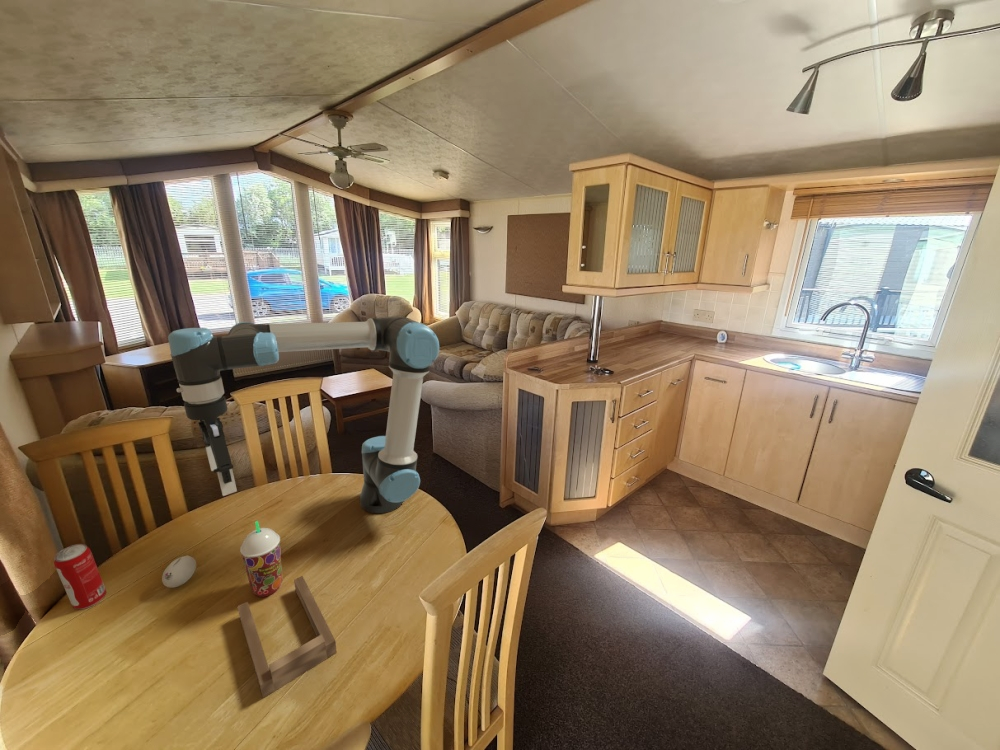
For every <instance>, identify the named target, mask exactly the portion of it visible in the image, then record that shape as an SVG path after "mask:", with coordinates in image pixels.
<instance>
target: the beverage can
mask: <svg viewBox="0 0 1000 750" xmlns="http://www.w3.org/2000/svg"><path fill="white" fill-rule="evenodd" d="M96 563H97V562H96V561H95V558H94V555H93V553H92V551H91V549H90V547H89V546H87V545H86V543H85V544H84V543H77V544H73V545H70V546H67V547H65V548H63V549H62V550H60V551H58V552H57V553H56V554H55V555H54V562H53V564H54V567H55V570H56V572H57V573H58V574H57V575H58V577H59V579H60V581H61V583H62V585H63V588H64V589H65V590H64V591H65V592H66V594H67V597H68V599H69V602H70V603H71V607H72V608H73V609H75V610H84V609H89V608H90V607H93V606H95V605H96V604H99V602H101V601H102V600H103V599H104V597H105V596H106V595H107V589H106V586H105V584H104V581H103V578H102V576H101V574H100V570H99V569H98V566H97V564H96Z"/></svg>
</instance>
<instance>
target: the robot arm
mask: <svg viewBox="0 0 1000 750" xmlns="http://www.w3.org/2000/svg"><path fill="white" fill-rule="evenodd" d="M167 337H168V338H167V339H168V345H169V351H170V358H171V359H172V361H171V362H172V365H173V369H174V370H175V375H176V378H177V383H178V384H179V387H178V388H176V392H177V393H181V397H182V400H183V401H184V402H183V407H184V410H185V415H186V417H187V418H188V419H189V420H191V421H198V427H199V430H200V432H201V435H202V437H201V438H202V440H203V444H204V445H205V452H206V455H207V459H208V463H209V467H210V471H211V472H213V473H216V474H217V478H218V481H219V485H220V486H219V487H220V491H221V495H222V497H225V496H228V495H230V494H233V493H236V492H237V491H238V490H237V486H236V481H235V480H236V479H235V476H234V471H233V469H234V464H233V463H232V460H231V456H230V453H229V448H228V446H227V442H226V436H225V432H224V429H223V427H224V425H223V422H222V420H221V418H220V416H223V415H225V414H226V413H227V412H228V404H227V399H226V396H225V395H224V394H225V389H224V384H223V378H222V376H221V373H220V372H221V371H226V370H227V371H228V370H236V369H244V368H253V367H265V366H269V365H274V364H277V363H278V362H279V360H280V354H279V353H283V352H284V353H285V352H286V353H287V352H304V351H305V352H306V351H322V350H340V349H342V350H343V349H360V348H368V349H369V350H370V351H385V352H388V353H389V359H388V368H389V369H390V370H391V372H392V381H391V389H390V398H389V405H388V414H387V415H388V416H387V421H386V422H387V423H386V431H385V435H378V436H374V437H371V438H368V439H366V440H365V441H364V442H363V443H362V446H361V452H360V453H361V458H362V459H361V460H362V471H363V485H362V489H361V491H360V495H359V505H360V507H361V508H362V510H364V511H366V512H367V513H371V514H385V513H390V512H392V511H395V510H397V509H398V508H400V507H401V506H402V505H403V504H404V503H405V501H406V500H408V499H411V497H412V496H413V495H415V494H416V492H417V491H418V490H419V488H420V485H421V478H420V474H419V473H418V471H417V463H418V453H416V451H415V450H414V448H415V439H416V433H417V425H418V418H419V411H420V405H421V397H422V388H423V383H424V378H425V377H424V376H426V375H427V374H429V373H430V370H431V365H432V364H433V363H434V362H435V361H436V360H437V358H438V356H439V353H440V341H439V338H438V336H437V334H436V333H435V332H434V331H433V330H432V328H430V327H428V326H427V325H425V324H424V323H422V322H418V321H416V320H413V319H411V318H409V317H406V316H389V317H386V316H385V317H374V318H373V317H371V318H368V319H367V320H366V321H347V322H346V321H345V322H342V321H341V322H340V321H339V322H334V321H333V322H301V323H299V322H298V323H253V322H250V321H249V322H248V321H241V322H237V323H236V324H234V325H233V326H232V327H231V328H230V330H229V331H228V335H223V336H214V335H213V334H212V331H211V330H210V328H207V327H189V328H181V329H177V330H173V331H172V332H170V333H169V335H168V336H167ZM403 502H404V503H403ZM402 503H403V504H402ZM401 504H402V505H401ZM400 505H401V506H400ZM399 506H400V507H399ZM396 508H397V509H396ZM394 509H395V510H394Z"/></svg>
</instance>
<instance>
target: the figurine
mask: <svg viewBox="0 0 1000 750" xmlns="http://www.w3.org/2000/svg"><path fill="white" fill-rule="evenodd" d="M196 569H197V562H196V560H195V558H194V557H193V556H189V555H188V554H186V555H185V556H180V557H178V558H176V559H174V560H173V561H172V562H171V563H169V564H168V565H167V567H165V568H164V571H163V572H162V576H161V581H162V584H163V586H165V587H167V588H177V587H181V586H182V585H184V584H185V583H187V582H188V581H189V580H190V579H191V578H192V577H193V575H194V573H195V572H196Z"/></svg>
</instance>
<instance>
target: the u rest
mask: <svg viewBox="0 0 1000 750" xmlns="http://www.w3.org/2000/svg"><path fill="white" fill-rule="evenodd" d="M293 581H294V588H295V592H296V594H297V597H298V600H299V602H300V603H301V606H302V607H303V610H304V612H305V613H306V616H307V619H308V620H309V623H310V625H311V627H312V629H313V631H314V633H315V637H314V638H313V639H311V640H309V641H307V642H305V643H303V644H302V645H301V646H299V647H297V648H295V649H294V650H292V651H290V652H289V653H287V654H285V655H284V656H281V657H280V658H277V659H276V660H274V661H273V662H271V663H270V664H269V663H268V661H267V658H266V655H265V652H264V649H263V645H262V642H261V639H260V635H259V633H258V630H257V627H256V624H255V620H254V617H253V615H252V611H251V608H250V605H249V601H246V602H244V603H241V604H239V605H237V610H238V616H239V619H240V622H241V627H242V630H243V633H244V637H245V641H246V644H247V648H248V650H249V651H248V652H249V655H250V658H251V662H252V665H253V669H254V672H255V675H256V679H257V681H258V686H259V689H260V693H261V696H262V699H265V698H266V697H268V696H269V695H271V694H273V693H274V692H276V691H277V690H279V689H281V688H282V687H284V686H286V685H287V684H289V683H290V682H292V681H294V680H295V679H297V678H298V677H300V676H302V675H304V674H305V673H306V672H308V671H310V670H311V669H312V668H315V667H316V666H318V665H319V664H321V663H322V662H325V660H327V659H329V658H330V657H332V656H334V655H336V654H337V652H338V651H337V643H336V638H335V637H334V635H333V633H332V631H331V630H330V628H329V625H328V623H327V621H326V619H325V618H324V615H323V613H322V611H321V609H320V607H319V605H318V603H317V601H316V600H315V598H314V596H313V593H312V592H311V589H310V588H309V586H308V584H307V582H306V580H305V578H304V576H303V575H302V576H299V577H297V578H295V579H294V580H293Z"/></svg>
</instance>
